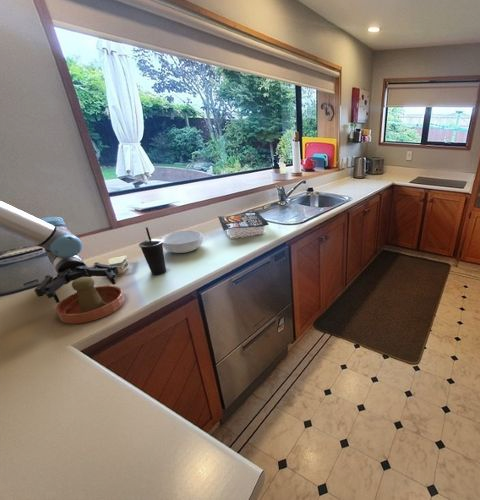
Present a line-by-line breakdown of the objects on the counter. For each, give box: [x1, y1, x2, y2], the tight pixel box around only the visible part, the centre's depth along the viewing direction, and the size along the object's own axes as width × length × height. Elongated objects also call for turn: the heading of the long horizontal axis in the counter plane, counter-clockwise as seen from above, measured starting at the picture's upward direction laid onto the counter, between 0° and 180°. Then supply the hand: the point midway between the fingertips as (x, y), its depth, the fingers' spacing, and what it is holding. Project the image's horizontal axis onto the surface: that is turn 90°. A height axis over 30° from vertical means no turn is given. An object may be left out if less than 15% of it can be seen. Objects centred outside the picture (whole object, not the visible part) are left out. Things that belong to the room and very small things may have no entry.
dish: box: [55, 285, 126, 325], centre depth 91 cm, size 16×16×4 cm
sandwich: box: [107, 255, 130, 276], centre depth 113 cm, size 10×9×6 cm
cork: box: [71, 277, 105, 313], centre depth 89 cm, size 6×6×11 cm
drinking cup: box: [138, 226, 167, 276], centre depth 110 cm, size 8×8×20 cm
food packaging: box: [217, 211, 270, 240], centre depth 157 cm, size 25×8×23 cm
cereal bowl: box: [160, 230, 204, 254], centre depth 133 cm, size 17×17×7 cm
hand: (86, 289), depth 87 cm, fingers open, 13 cm apart
